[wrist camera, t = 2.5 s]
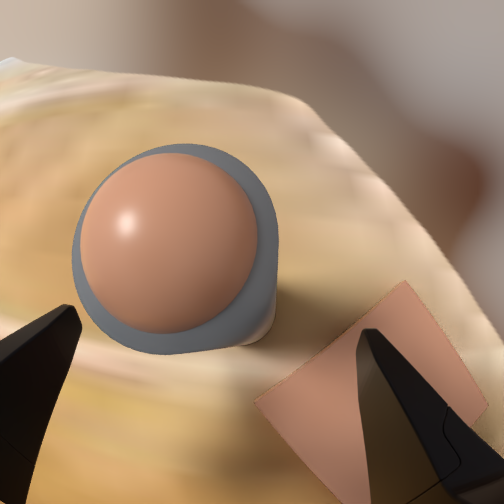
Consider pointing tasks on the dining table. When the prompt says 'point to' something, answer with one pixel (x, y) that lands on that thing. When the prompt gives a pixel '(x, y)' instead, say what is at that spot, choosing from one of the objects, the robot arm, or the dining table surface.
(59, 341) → the robot arm
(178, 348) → the tube
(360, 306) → the dining table surface
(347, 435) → the terracotta tile
